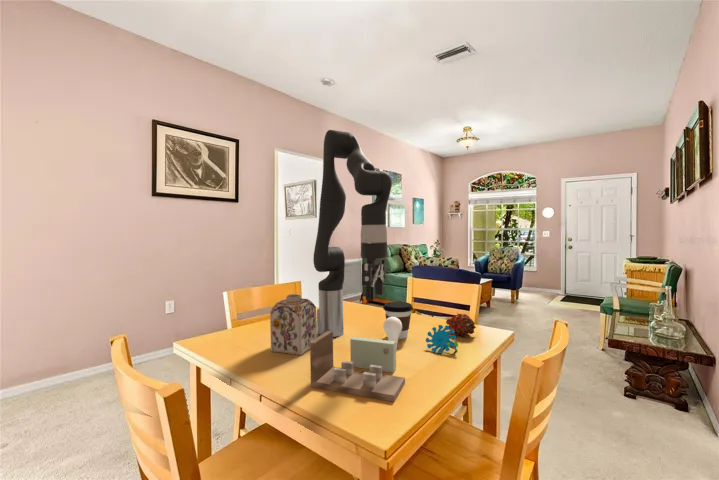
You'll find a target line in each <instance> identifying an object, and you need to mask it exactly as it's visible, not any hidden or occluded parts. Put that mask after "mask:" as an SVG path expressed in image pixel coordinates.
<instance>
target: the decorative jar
mask: <svg viewBox="0 0 719 480" xmlns="http://www.w3.org/2000/svg"><path fill="white" fill-rule="evenodd" d="M285 297H286V299H285V298H284V299H282V300H278V301H276V303H275V304H274V306H273V307H272V308H271V310H270V313H269V316H270V317H269V318H270V320H269V321H270V328H269V329H270V350H271V352H272V351H274V352H273V353H278V352H281V353H280V354H286V353H288V354H287V355H295V354H296V355H297V356H302V355H304V354H305V353H306V352H308V351H310V342H311V341H313V340H314V339H316V338H318V335H317V306H316V305H315V304H314V303H313V302H312V301H311V300H310V299H309V298H303V297H301V294H298V293H292V294H287V295H286V296H285Z"/></svg>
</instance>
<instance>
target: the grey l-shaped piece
mask: <svg viewBox="0 0 719 480" xmlns="http://www.w3.org/2000/svg"><path fill="white" fill-rule="evenodd" d="M309 354H310V355H309V356H310V357H309V359H310V387H311V388H316V389H320V390H328V391H332V392H338V393H344V394H347V395H348V394H349V395H354V396H360V397H366V398H370V399H376V400H382V401H386V402H387V401H388V402H393V403H394V402H395V401H397V398H398V397H399V395H400V393H401V391H402V390H403V387H404V385H405V384H406V377H405V376H404V377H403V376H397V375H390V374H383V371H382V366H377V365H370V369H369V371H364V370H358V369H357V370H356V369H354V368H355V367H354V362H351V361H348V360H342V361H341V367H338V366H337V367H336V366H334V337H333V331H327V332H325V333H324V334H322V335H319V336H317V338H316V339H314V340H313V341H311V342H310V349H309Z"/></svg>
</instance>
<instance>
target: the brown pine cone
mask: <svg viewBox="0 0 719 480" xmlns="http://www.w3.org/2000/svg"><path fill="white" fill-rule="evenodd" d="M445 321H446V322H445V324H446V325H447V326H448V327H449V328H450V329H449V330H451V329H453V331H454V335H455V336H459V335H461V336H462V337H468V334H469V335H473V334H475V329H476V328H477V327H476V326H475V322H474V320H473V319H472V318H470V316H469V315H468V314H467V313H456V315H455V316H451V317H450V318H448V319H446V320H445ZM449 330H448V331H449Z"/></svg>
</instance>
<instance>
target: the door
mask: <svg viewBox="0 0 719 480" xmlns="http://www.w3.org/2000/svg"><path fill="white" fill-rule="evenodd" d="M349 342H350V343H349V344H350V345H349V346H350V362H354V368H359V369H365V370H370V365H377V366H382V372H387V373H395V372H396V370H397V349H396V341H388V339H387V340H385V339H377V338H369V337H359V336H352V337H351V338H350V341H349Z"/></svg>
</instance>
